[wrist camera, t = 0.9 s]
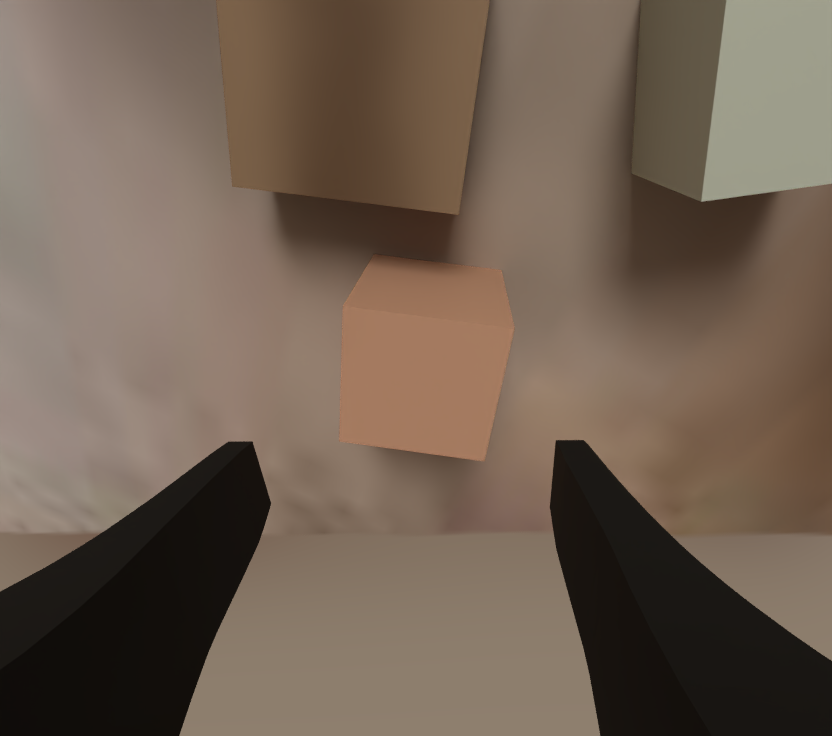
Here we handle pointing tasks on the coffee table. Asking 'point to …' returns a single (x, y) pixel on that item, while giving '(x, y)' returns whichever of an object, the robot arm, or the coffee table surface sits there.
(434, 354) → the terracotta cube
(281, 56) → the walnut base
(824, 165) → the sage cube
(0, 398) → the coffee table surface
